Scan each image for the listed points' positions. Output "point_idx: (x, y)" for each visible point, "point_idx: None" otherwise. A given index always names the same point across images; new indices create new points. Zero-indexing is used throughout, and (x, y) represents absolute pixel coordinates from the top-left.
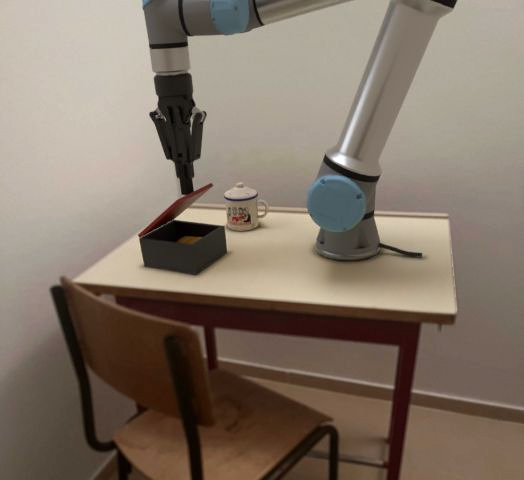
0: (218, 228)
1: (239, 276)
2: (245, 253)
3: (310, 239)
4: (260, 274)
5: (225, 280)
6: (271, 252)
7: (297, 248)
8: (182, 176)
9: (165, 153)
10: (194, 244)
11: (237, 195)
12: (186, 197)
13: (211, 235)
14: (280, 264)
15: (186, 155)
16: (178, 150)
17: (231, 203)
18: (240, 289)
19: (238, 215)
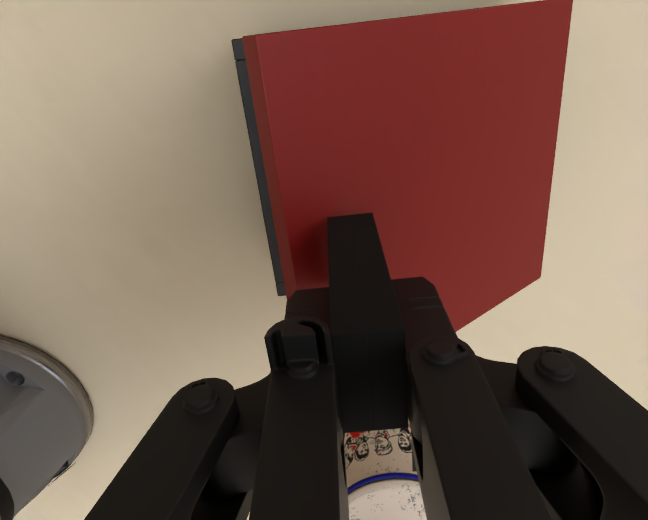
0: (280, 264)
1: (112, 106)
2: (231, 269)
3: (137, 418)
4: (66, 153)
5: (127, 52)
6: (166, 307)
7: (121, 358)
8: (350, 272)
9: (605, 394)
10: (239, 62)
11: (379, 498)
12: (266, 149)
13: (261, 198)
14: (74, 246)
15: (267, 415)
16: (430, 477)
17: (397, 464)
18: (23, 11)
19: (368, 433)
